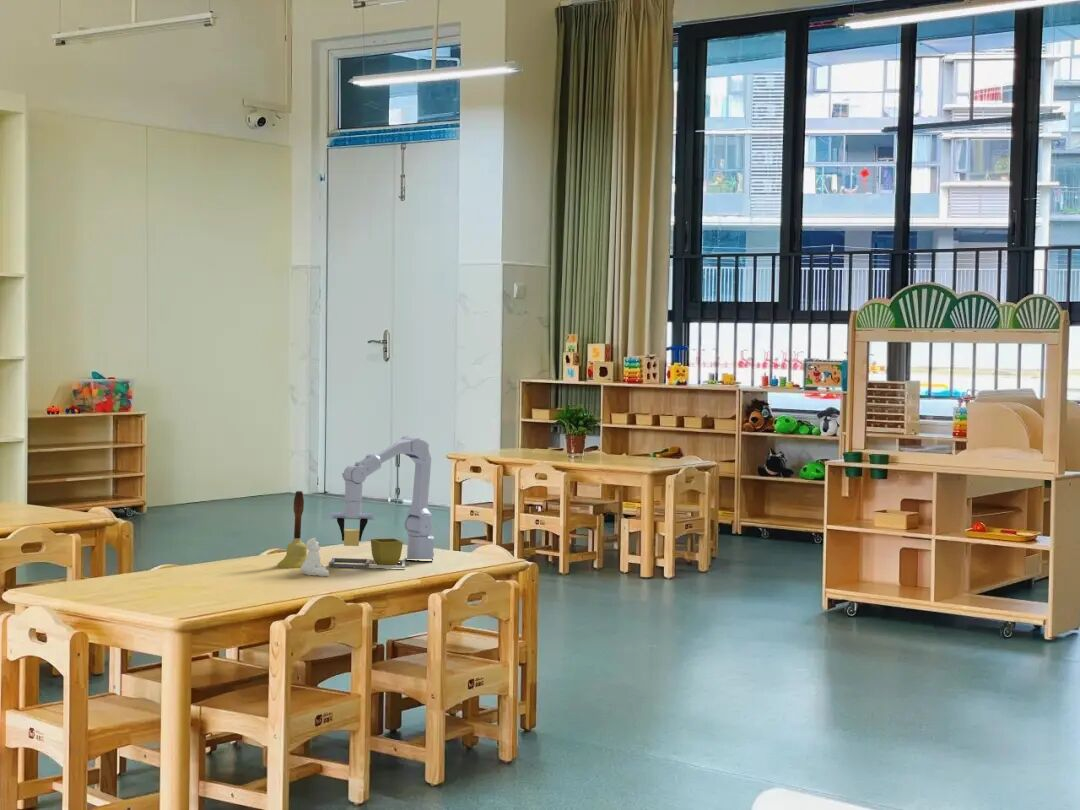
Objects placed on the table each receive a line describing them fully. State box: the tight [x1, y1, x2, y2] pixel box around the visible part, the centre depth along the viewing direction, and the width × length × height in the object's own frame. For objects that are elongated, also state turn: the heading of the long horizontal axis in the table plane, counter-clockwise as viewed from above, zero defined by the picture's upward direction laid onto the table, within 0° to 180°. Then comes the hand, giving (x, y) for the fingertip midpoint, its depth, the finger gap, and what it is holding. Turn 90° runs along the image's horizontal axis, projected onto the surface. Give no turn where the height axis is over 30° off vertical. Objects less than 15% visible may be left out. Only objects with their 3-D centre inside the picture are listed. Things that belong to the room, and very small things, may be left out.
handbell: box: [277, 490, 308, 569], centre depth 442 cm, size 12×12×25 cm
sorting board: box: [329, 557, 406, 569], centre depth 449 cm, size 25×13×1 cm, turn 96°
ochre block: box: [343, 528, 360, 547], centre depth 448 cm, size 5×5×5 cm
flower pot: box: [370, 537, 404, 566], centre depth 449 cm, size 9×9×9 cm
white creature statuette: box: [300, 537, 330, 577], centre depth 426 cm, size 10×9×12 cm
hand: (351, 540), depth 448 cm, fingers closed on ochre block, 5 cm apart
